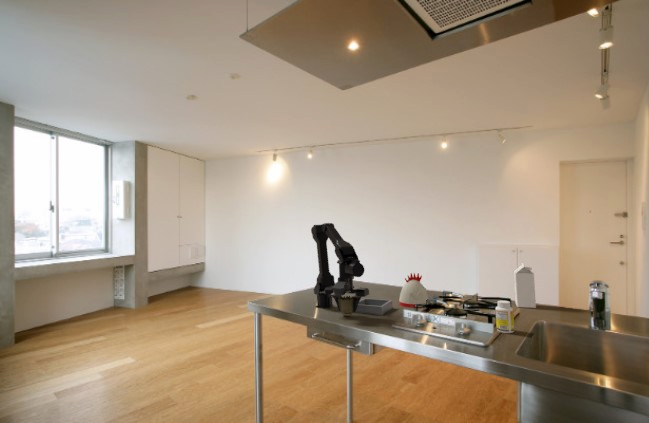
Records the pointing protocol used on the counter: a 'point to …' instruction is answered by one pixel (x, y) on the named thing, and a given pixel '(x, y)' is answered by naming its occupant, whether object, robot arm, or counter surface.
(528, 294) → the milk carton
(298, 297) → the counter surface
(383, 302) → the tray
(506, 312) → the supplement bottle
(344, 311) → the cup
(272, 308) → the counter surface
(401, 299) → the kitchen timer
